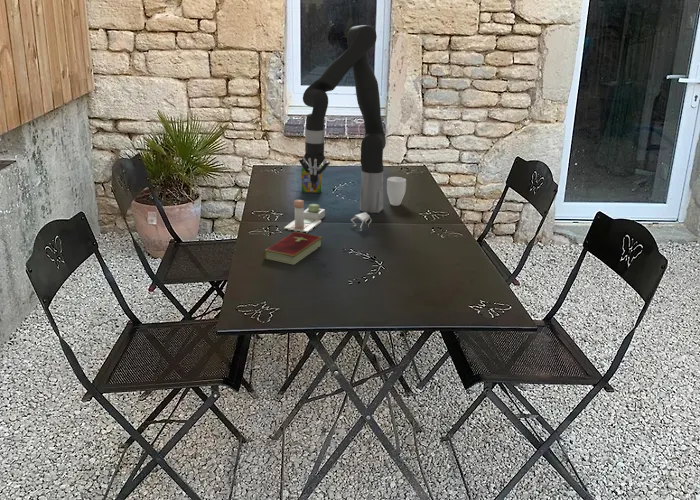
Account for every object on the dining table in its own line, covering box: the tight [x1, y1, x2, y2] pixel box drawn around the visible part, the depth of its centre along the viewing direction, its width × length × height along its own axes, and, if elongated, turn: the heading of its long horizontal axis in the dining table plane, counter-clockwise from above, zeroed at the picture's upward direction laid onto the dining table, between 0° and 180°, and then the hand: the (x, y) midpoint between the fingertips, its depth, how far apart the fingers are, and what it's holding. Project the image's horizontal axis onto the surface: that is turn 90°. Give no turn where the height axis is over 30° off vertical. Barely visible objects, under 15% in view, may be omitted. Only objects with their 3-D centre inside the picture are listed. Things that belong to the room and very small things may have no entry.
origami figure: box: [350, 212, 373, 232], centre depth 264 cm, size 12×8×5 cm
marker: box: [293, 199, 305, 228], centre depth 260 cm, size 4×4×10 cm
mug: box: [386, 176, 407, 207], centre depth 295 cm, size 12×8×11 cm
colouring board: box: [283, 218, 322, 234], centre depth 265 cm, size 10×14×1 cm
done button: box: [308, 203, 320, 213], centre depth 273 cm, size 4×4×3 cm
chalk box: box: [301, 163, 323, 194], centre depth 308 cm, size 9×9×15 cm
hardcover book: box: [263, 231, 323, 266], centre depth 238 cm, size 12×21×4 cm, turn 155°
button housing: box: [304, 207, 326, 221], centre depth 274 cm, size 7×7×3 cm
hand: (314, 183), depth 269 cm, fingers closed
